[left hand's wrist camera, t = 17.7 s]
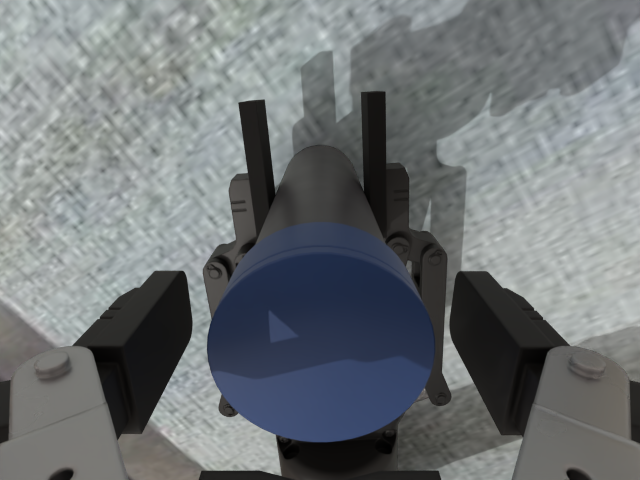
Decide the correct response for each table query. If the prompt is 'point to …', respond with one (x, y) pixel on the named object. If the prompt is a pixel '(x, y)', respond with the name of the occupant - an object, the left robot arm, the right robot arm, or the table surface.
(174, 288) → the left robot arm
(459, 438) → the table surface
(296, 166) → the dark grey bottle
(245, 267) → the lid
